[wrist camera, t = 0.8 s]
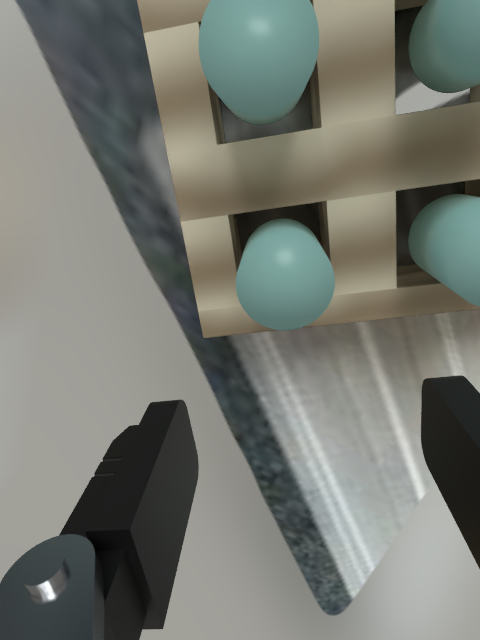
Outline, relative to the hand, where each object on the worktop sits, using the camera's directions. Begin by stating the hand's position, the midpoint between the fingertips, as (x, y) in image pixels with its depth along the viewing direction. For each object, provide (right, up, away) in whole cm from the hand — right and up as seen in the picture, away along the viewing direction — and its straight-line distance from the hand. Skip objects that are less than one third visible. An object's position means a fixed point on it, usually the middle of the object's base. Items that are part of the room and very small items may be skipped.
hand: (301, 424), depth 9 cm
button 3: (+11, +7, +15) cm, 20 cm away
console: (+7, +14, +18) cm, 24 cm away
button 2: (0, +16, +12) cm, 20 cm away
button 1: (+1, +6, +16) cm, 17 cm away
